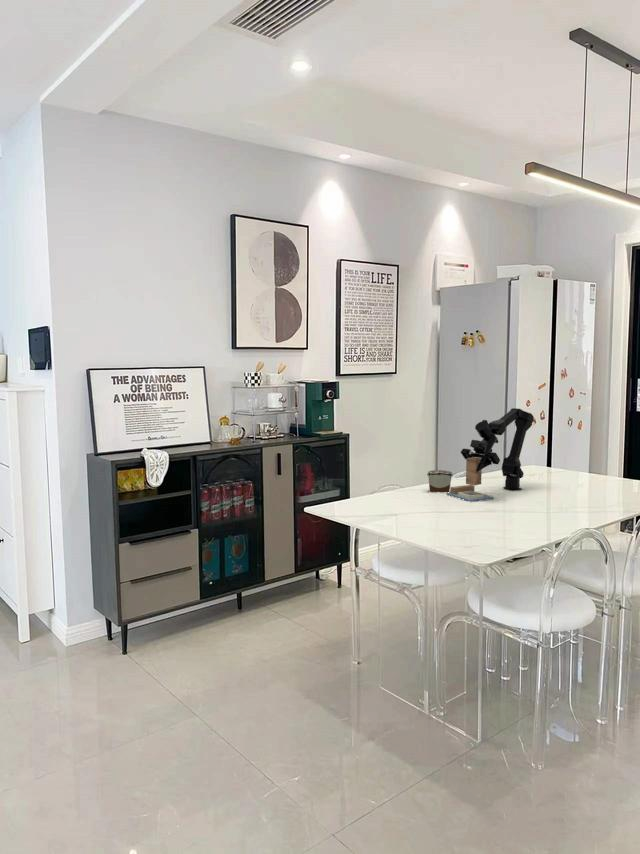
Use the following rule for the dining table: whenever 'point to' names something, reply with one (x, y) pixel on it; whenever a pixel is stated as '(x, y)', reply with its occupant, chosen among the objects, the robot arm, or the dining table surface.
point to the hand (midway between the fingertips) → (472, 470)
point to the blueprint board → (467, 493)
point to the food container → (439, 480)
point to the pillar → (473, 471)
